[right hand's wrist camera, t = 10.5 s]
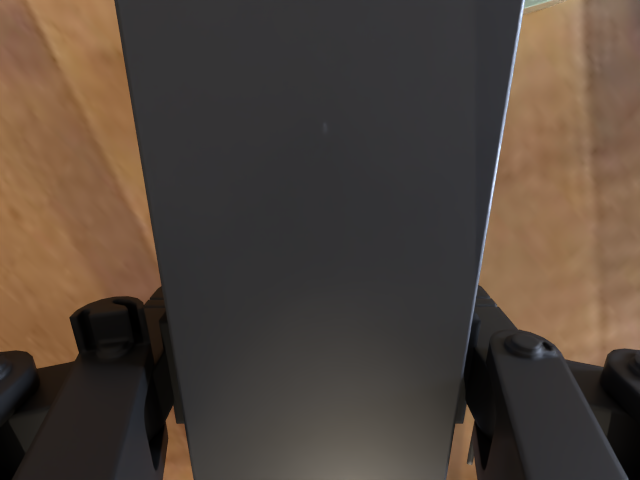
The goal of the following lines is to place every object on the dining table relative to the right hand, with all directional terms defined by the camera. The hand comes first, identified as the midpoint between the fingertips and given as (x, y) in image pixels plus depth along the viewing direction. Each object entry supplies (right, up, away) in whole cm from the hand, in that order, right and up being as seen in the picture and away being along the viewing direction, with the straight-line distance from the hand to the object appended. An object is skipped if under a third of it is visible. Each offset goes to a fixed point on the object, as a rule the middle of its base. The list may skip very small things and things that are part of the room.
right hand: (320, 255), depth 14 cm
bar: (0, +14, -5) cm, 15 cm away
